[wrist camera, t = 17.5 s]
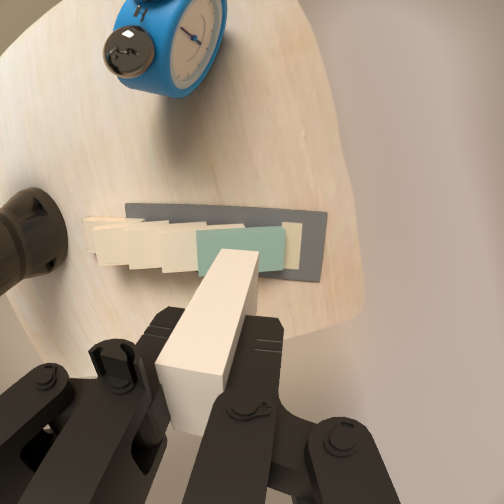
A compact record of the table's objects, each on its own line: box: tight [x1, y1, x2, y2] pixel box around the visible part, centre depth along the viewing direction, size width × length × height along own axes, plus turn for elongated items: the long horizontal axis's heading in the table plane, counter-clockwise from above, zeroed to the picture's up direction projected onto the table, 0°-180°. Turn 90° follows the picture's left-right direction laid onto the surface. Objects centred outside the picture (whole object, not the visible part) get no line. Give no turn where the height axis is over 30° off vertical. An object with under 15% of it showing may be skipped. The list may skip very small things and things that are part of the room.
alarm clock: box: [103, 0, 227, 98], centre depth 22 cm, size 13×6×15 cm, turn 160°
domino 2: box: [92, 220, 169, 267], centre depth 36 cm, size 2×5×10 cm
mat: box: [125, 203, 327, 282], centre depth 37 cm, size 26×9×1 cm, turn 89°
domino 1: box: [82, 217, 146, 254], centre depth 38 cm, size 2×5×10 cm
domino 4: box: [158, 224, 246, 273], centre depth 35 cm, size 2×5×10 cm
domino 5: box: [196, 226, 286, 277], centre depth 35 cm, size 2×5×10 cm
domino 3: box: [124, 221, 207, 270], centre depth 36 cm, size 2×5×10 cm
